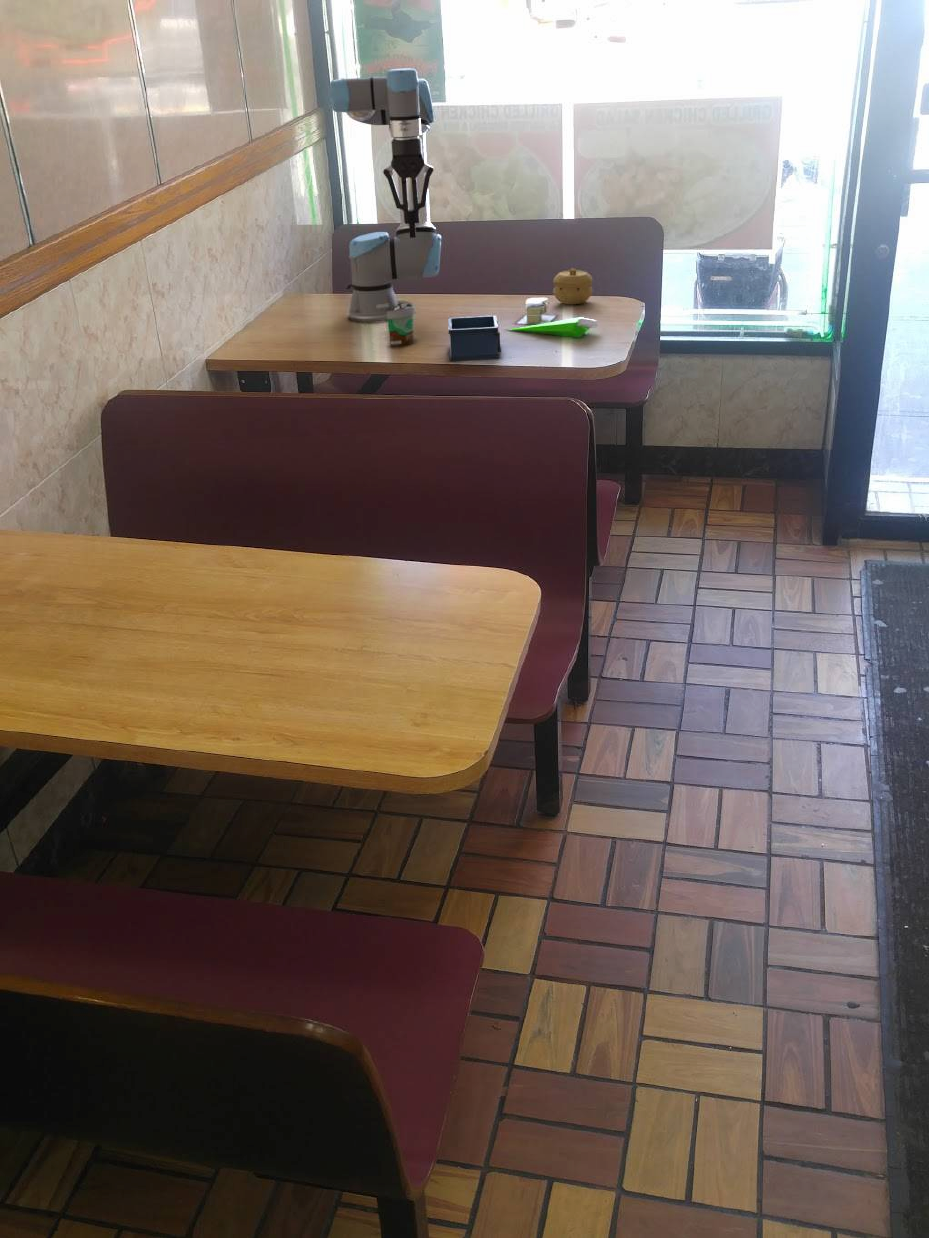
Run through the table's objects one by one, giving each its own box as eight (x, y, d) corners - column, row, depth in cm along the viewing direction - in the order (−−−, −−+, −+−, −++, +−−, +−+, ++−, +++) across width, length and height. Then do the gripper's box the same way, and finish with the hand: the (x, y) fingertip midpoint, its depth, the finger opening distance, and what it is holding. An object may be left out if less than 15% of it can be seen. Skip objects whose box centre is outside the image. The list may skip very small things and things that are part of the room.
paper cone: (498, 342, 310) (580, 335, 298) (497, 322, 309) (580, 314, 297) (517, 344, 320) (598, 338, 307) (516, 324, 319) (598, 317, 306)
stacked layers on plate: (546, 325, 317) (546, 305, 315) (516, 323, 320) (515, 304, 317) (556, 316, 325) (556, 296, 323) (526, 314, 328) (526, 295, 326)
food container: (411, 349, 302) (408, 311, 297) (389, 348, 303) (386, 311, 299) (422, 336, 313) (419, 300, 308) (400, 336, 314) (398, 300, 309)
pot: (545, 304, 339) (544, 270, 334) (571, 296, 345) (571, 262, 340) (574, 309, 331) (574, 275, 326) (600, 301, 338) (601, 267, 333)
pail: (448, 317, 298) (498, 314, 298) (449, 347, 302) (499, 344, 302) (448, 330, 286) (500, 327, 286) (450, 361, 290) (501, 358, 290)
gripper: (379, 141, 276) (387, 240, 288) (432, 138, 276) (438, 238, 288) (380, 137, 283) (388, 235, 294) (432, 135, 283) (438, 232, 294)
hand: (412, 236), depth 291 cm, fingers closed
